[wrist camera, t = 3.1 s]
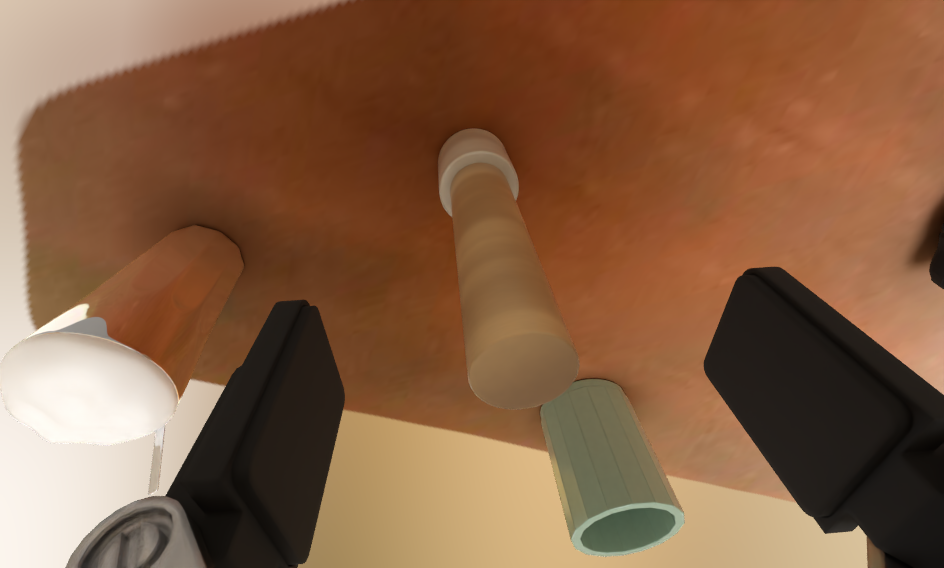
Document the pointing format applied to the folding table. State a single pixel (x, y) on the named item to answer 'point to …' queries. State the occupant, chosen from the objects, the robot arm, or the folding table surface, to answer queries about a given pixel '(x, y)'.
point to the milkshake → (124, 347)
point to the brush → (501, 280)
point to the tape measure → (938, 262)
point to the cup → (607, 472)
